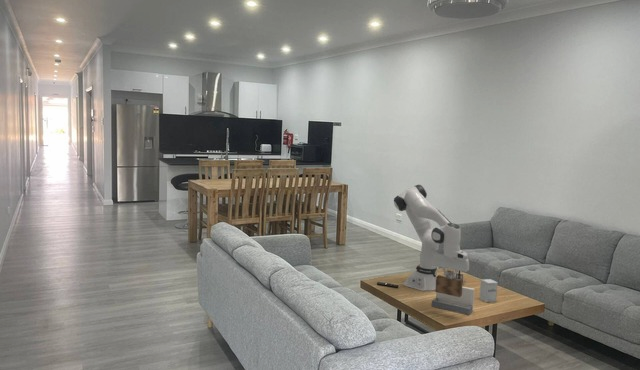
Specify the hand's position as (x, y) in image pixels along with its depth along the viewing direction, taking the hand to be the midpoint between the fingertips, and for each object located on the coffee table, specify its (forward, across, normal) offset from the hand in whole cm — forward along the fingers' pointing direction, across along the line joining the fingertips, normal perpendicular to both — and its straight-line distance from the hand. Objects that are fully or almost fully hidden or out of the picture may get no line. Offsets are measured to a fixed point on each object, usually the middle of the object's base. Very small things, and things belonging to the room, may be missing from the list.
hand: (449, 276), depth 264 cm
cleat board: (+22, 0, +11) cm, 25 cm away
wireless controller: (+23, -14, +64) cm, 70 cm away
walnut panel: (+10, 0, 0) cm, 10 cm away
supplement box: (+22, +14, +40) cm, 48 cm away
